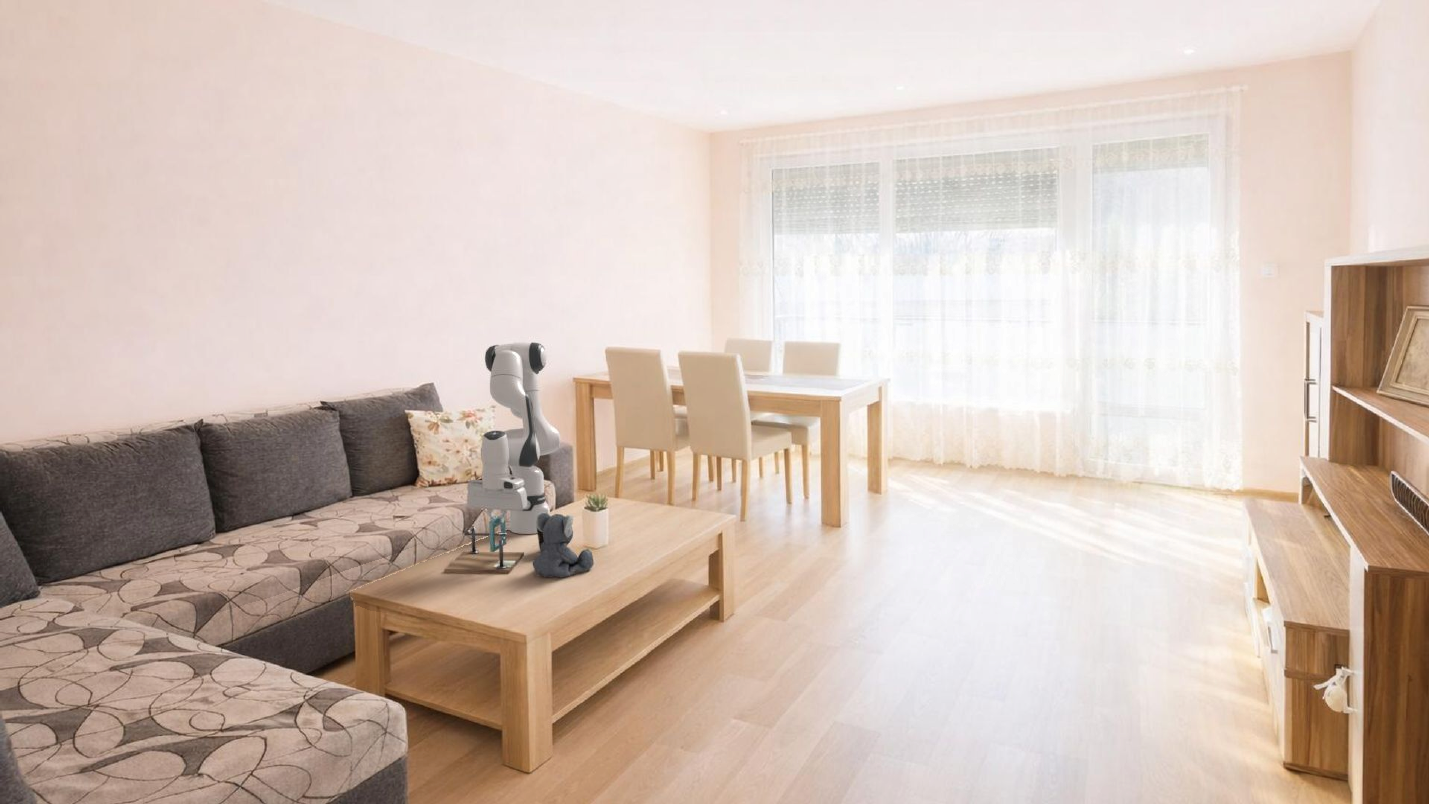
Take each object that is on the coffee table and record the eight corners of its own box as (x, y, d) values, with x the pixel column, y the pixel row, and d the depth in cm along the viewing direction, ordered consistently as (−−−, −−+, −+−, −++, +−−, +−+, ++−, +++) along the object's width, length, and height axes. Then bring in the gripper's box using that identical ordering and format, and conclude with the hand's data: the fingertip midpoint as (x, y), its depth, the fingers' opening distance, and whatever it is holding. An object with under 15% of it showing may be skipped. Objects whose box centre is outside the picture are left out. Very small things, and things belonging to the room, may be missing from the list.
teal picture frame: (490, 551, 280) (489, 521, 279) (502, 543, 289) (501, 514, 287) (493, 552, 280) (492, 521, 278) (506, 544, 288) (505, 514, 287)
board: (463, 554, 294) (463, 550, 294) (524, 555, 294) (524, 551, 293) (444, 572, 276) (444, 568, 276) (509, 573, 275) (509, 569, 275)
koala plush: (597, 568, 280) (596, 510, 278) (558, 584, 266) (557, 523, 263) (559, 559, 290) (557, 503, 287) (519, 574, 275) (517, 514, 273)
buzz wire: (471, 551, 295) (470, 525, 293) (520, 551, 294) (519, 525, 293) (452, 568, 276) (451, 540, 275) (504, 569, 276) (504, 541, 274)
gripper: (462, 481, 280) (463, 522, 282) (520, 484, 276) (521, 526, 278) (471, 477, 287) (473, 517, 288) (528, 480, 282) (529, 521, 284)
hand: (497, 522), depth 283 cm, fingers closed on teal picture frame, 1 cm apart
